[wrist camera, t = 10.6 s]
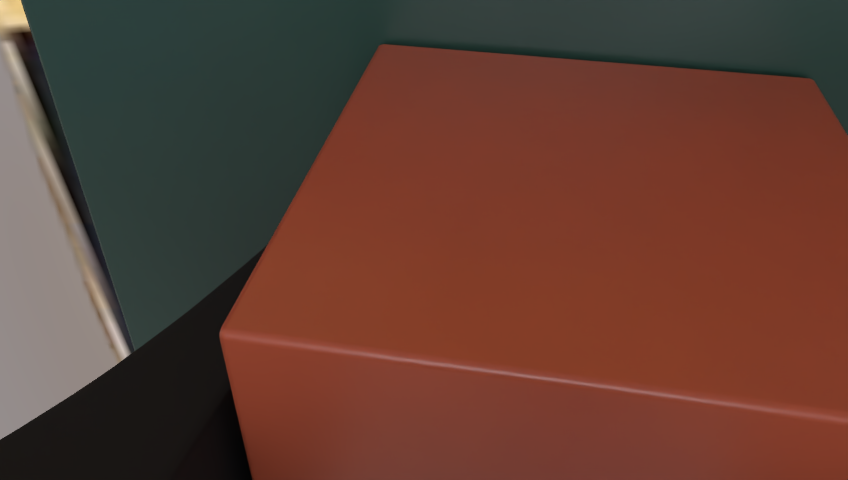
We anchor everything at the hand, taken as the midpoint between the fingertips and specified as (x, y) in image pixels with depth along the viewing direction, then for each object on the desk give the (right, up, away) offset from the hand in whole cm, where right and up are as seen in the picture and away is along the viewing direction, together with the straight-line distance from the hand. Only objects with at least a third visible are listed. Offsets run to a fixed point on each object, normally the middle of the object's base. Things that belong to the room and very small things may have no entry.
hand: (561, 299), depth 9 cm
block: (0, +1, +1) cm, 1 cm away
